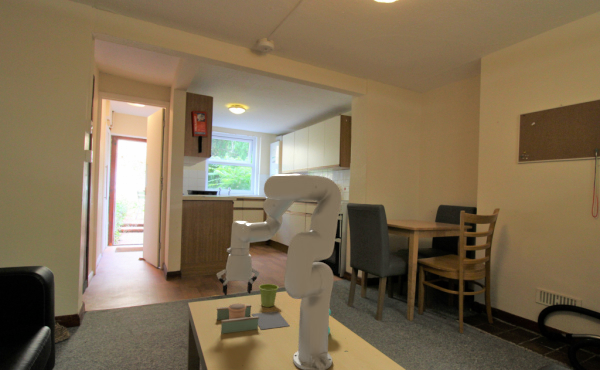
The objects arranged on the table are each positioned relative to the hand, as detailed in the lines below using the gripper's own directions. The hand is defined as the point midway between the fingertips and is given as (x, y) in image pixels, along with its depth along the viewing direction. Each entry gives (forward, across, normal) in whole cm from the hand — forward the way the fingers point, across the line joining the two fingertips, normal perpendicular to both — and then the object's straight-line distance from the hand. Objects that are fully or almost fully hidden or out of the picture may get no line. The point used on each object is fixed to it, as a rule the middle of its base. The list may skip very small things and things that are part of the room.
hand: (237, 293), depth 127 cm
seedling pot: (+12, 0, -1) cm, 12 cm away
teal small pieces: (+12, +28, -18) cm, 36 cm away
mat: (+12, +14, -1) cm, 19 cm away
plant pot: (+12, +18, +16) cm, 28 cm away
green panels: (+12, 0, -1) cm, 12 cm away
